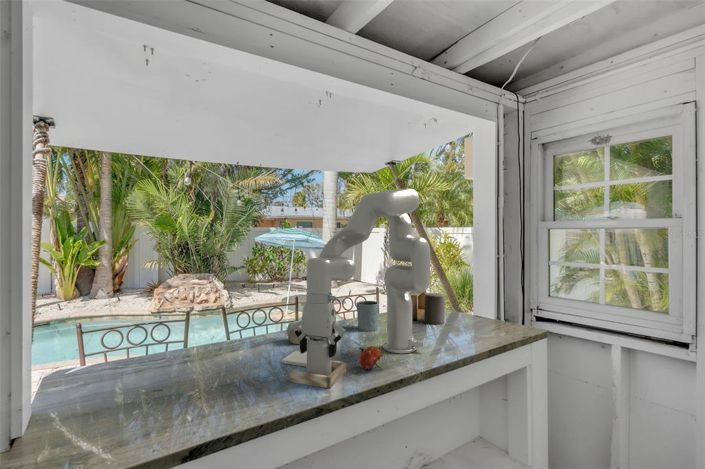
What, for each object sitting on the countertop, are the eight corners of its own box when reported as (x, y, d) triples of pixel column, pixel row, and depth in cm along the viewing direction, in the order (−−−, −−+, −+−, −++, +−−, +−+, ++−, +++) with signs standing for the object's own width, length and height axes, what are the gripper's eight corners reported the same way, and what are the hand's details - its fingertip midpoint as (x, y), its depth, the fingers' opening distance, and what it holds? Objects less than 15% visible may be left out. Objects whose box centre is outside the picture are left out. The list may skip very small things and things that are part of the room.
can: (307, 372, 117) (307, 334, 117) (331, 371, 118) (331, 334, 117) (306, 382, 109) (306, 341, 109) (331, 381, 110) (331, 341, 110)
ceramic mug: (288, 346, 143) (288, 326, 143) (286, 339, 151) (286, 321, 151) (315, 344, 146) (315, 325, 146) (312, 338, 154) (312, 320, 154)
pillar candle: (424, 324, 176) (425, 292, 176) (424, 319, 186) (424, 289, 186) (445, 325, 175) (446, 293, 174) (443, 320, 184) (444, 290, 184)
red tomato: (383, 372, 123) (362, 350, 127) (393, 358, 119) (372, 336, 124) (370, 382, 117) (349, 358, 121) (381, 367, 113) (359, 343, 118)
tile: (320, 356, 131) (320, 354, 131) (307, 366, 122) (307, 363, 122) (295, 353, 134) (295, 350, 134) (281, 362, 125) (281, 360, 125)
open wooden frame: (346, 371, 117) (346, 362, 117) (329, 388, 105) (329, 377, 105) (309, 366, 122) (309, 357, 122) (289, 381, 110) (289, 371, 110)
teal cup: (379, 332, 163) (379, 304, 163) (356, 331, 163) (356, 304, 163) (377, 326, 173) (377, 300, 173) (356, 325, 173) (356, 300, 173)
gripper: (349, 298, 114) (348, 354, 114) (299, 294, 120) (298, 347, 120) (340, 302, 107) (339, 362, 107) (287, 298, 113) (286, 354, 113)
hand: (317, 354), depth 113 cm, fingers open, 9 cm apart
